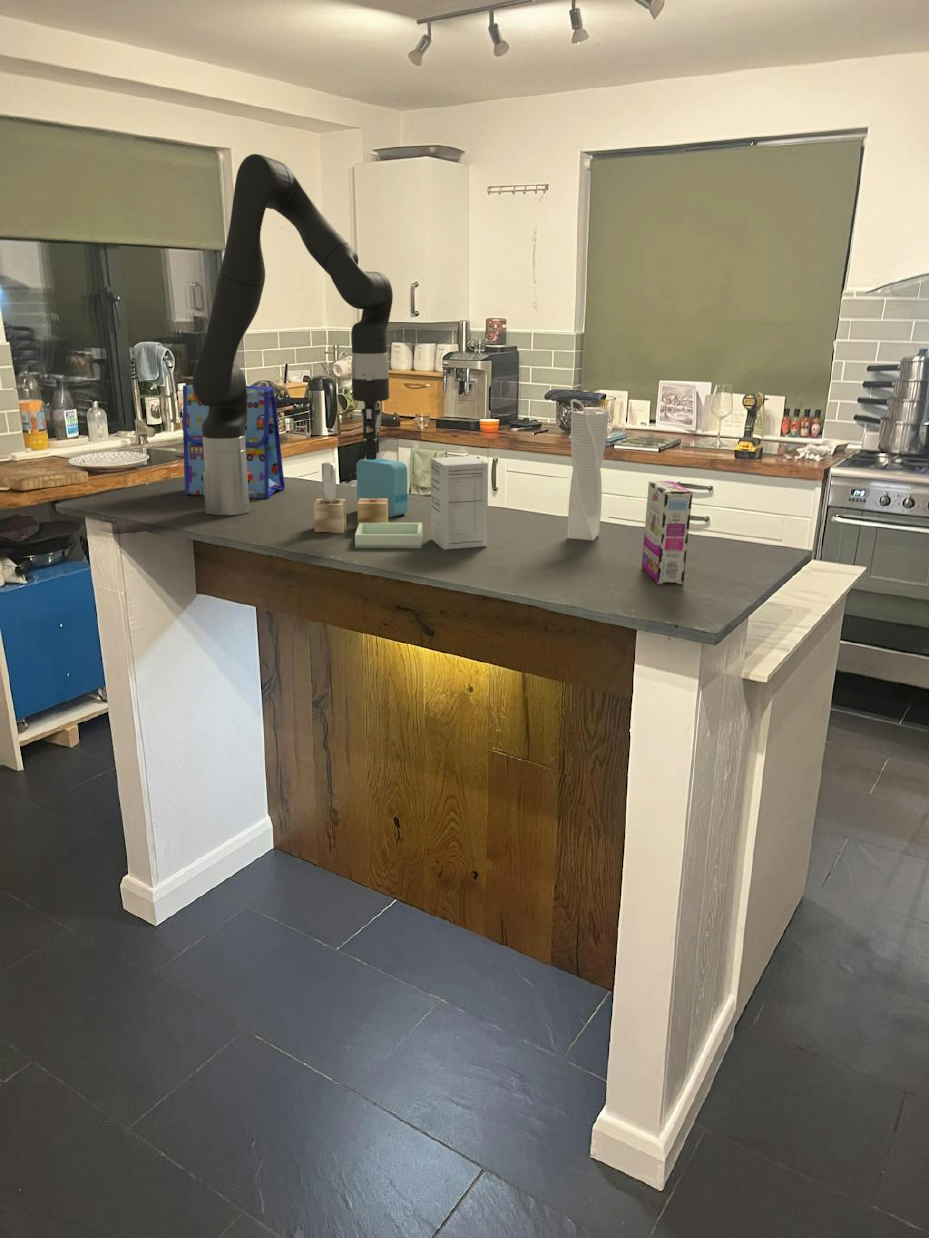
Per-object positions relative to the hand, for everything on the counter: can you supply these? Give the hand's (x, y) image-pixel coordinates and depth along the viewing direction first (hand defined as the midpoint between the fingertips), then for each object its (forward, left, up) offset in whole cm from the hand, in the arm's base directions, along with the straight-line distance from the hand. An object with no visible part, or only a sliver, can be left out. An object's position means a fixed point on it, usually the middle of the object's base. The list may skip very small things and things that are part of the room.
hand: (372, 456), depth 195 cm
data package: (+1, +16, -16) cm, 22 cm away
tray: (+4, -11, -16) cm, 19 cm away
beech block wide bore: (-9, -1, -16) cm, 18 cm away
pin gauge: (-9, -1, -16) cm, 18 cm away
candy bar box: (+54, -36, -16) cm, 67 cm away
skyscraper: (+44, -6, -16) cm, 47 cm away
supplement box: (+18, -12, -16) cm, 27 cm away
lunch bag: (-37, +39, -16) cm, 56 cm away
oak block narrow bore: (0, 0, -16) cm, 16 cm away
